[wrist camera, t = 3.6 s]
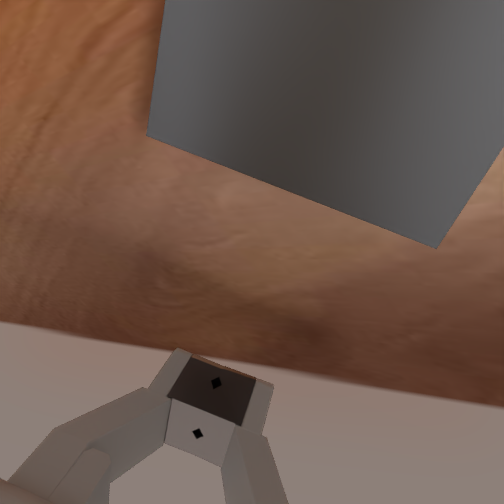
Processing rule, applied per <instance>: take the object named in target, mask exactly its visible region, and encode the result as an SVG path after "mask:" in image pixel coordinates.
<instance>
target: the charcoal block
mask: <svg viewBox="0 0 504 504" xmlns="http://www.w3.org/2000/svg"><path fill="white" fill-rule="evenodd" d="M146 136H148V137H151V138H153V139H156V140H159V141H161V142H164V143H166V144H169V145H171V146H174V147H176V148H179V149H182V150H184V151H187V152H189V153H192V154H194V155H197V156H200V157H202V158H205V159H207V160H210V161H212V162H215V163H217V164H220V165H223V166H225V167H228V168H230V169H233V170H235V171H238V172H241V173H243V174H246V175H248V176H251V177H253V178H256V179H258V180H261V181H264V182H266V183H269V184H271V185H274V186H276V187H279V188H281V189H284V190H287V191H289V192H292V193H294V194H297V195H299V196H302V197H305V198H307V199H310V200H312V201H315V202H317V203H320V204H322V205H325V206H328V207H330V208H333V209H335V210H338V211H340V212H343V213H346V214H348V215H351V216H353V217H356V218H358V219H361V220H363V221H366V222H369V223H371V224H374V225H376V226H379V227H381V228H384V229H387V230H389V231H392V232H394V233H397V234H399V235H402V236H404V237H407V238H410V239H412V240H415V241H417V242H420V243H422V244H425V245H428V246H430V247H433V248H435V249H437V247H438V246H439V244H440V243H441V241H442V240H443V238H444V237H445V235H446V234H447V232H448V231H449V229H450V227H451V226H452V224H453V223H454V221H455V220H456V218H457V217H458V215H459V214H460V212H461V211H462V209H463V208H464V206H465V205H466V203H467V202H468V200H469V199H470V197H471V196H472V194H473V192H474V191H475V189H476V188H477V186H478V185H479V183H480V182H481V180H482V179H483V177H484V176H485V174H486V173H487V171H488V170H489V168H490V167H491V165H492V164H493V162H494V161H495V159H496V157H497V156H498V154H499V153H500V151H501V150H502V148H503V147H504V0H165V7H164V14H163V21H162V28H161V35H160V42H159V49H158V56H157V63H156V70H155V77H154V85H153V92H152V99H151V106H150V113H149V120H148V127H147V134H146Z"/></svg>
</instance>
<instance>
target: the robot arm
mask: <svg viewBox="0 0 504 504" xmlns="http://www.w3.org/2000/svg"><path fill="white" fill-rule="evenodd" d="M256 379H257V378H255V377H253V376H250V375H247V374H245V373H242V372H239V371H236V370H234V369H231V368H228V367H226V366H225V367H224V366H222V365H220V364H217V363H215V362H212V361H210V360H207V359H205V358H203V357H200V356H198V355H195V354H192V353H190V352H187V351H185V350H183V349H180V348H177V349H175V350H174V351H173V353H172V354H171V356H170V357H169V359H168V360H167V361H166V363H165V364H164V366H163V367H162V369H161V370H160V372H159V373H158V375H157V376H156V377H155V379H154V380H153V382H152V383H151V385H150V386H149V388H148V389H146V388H143V387H142V388H140V389H138V390H136V391H134V392H131V393H129V394H127V395H125V396H123V397H121V398H118V399H116V400H114V401H112V402H110V403H108V404H106V405H103V406H101V407H99V408H97V409H95V410H93V411H91V412H88V413H86V414H84V415H82V416H80V417H78V418H76V419H73V420H71V421H69V422H67V423H65V424H62V425H60V426H58V427H56V428H54V429H53V430H52V431H51V433H50V434H49V435H48V436H47V437H46V438H45V439H44V440H43V442H42V443H41V444H40V445H39V446H38V447H37V448H36V449H35V451H34V452H33V453H32V454H31V455H30V456H29V457H28V458H27V459H26V461H25V462H24V463H23V464H22V465H21V466H20V467H19V468H18V470H17V471H16V472H15V473H14V474H13V475H12V476H11V477H10V479H9V480H8V481H5V480H3V479H1V478H0V504H109V488H110V483H111V482H113V481H114V480H115V479H117V478H118V477H119V476H121V475H122V474H124V473H125V472H126V471H128V470H129V469H131V468H132V467H133V466H135V465H136V464H138V463H139V462H140V461H142V460H143V459H144V458H146V457H147V456H148V455H150V454H151V453H153V452H154V451H155V450H157V449H158V448H160V447H161V446H163V443H165V444H168V445H170V446H173V447H176V448H178V449H181V450H183V451H186V452H188V453H191V454H193V455H195V456H198V457H200V458H202V459H204V460H206V461H209V462H211V463H213V464H215V465H217V466H219V467H221V473H222V480H223V487H224V493H225V500H226V504H288V501H287V498H286V495H285V492H284V489H283V486H282V483H281V480H280V477H279V474H278V471H277V468H276V465H275V461H274V458H273V455H272V452H271V449H270V446H269V444H268V440H267V438H266V437H264V436H262V431H263V427H264V424H265V420H266V416H267V412H268V408H269V404H270V401H271V396H272V393H273V389H274V386H273V384H270V383H268V382H266V381H263V380H260V379H257V380H256Z"/></svg>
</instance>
